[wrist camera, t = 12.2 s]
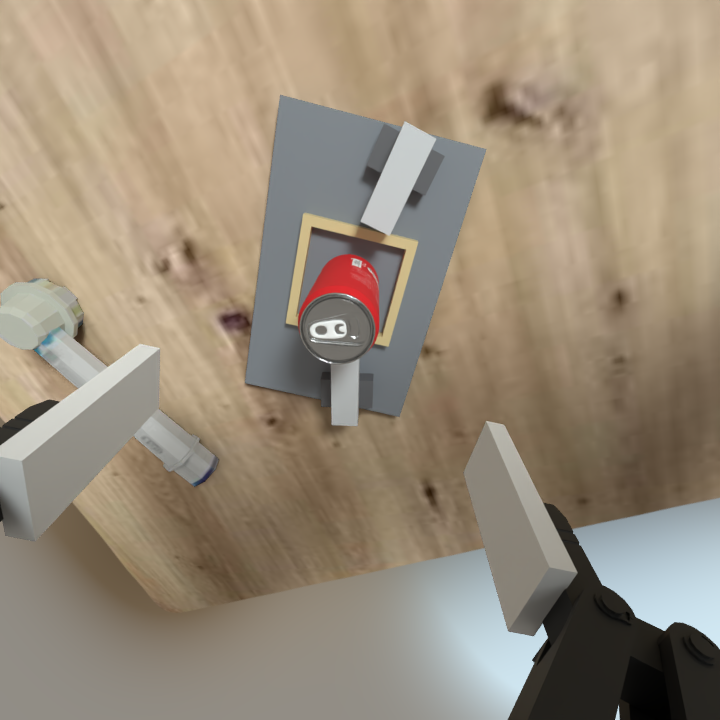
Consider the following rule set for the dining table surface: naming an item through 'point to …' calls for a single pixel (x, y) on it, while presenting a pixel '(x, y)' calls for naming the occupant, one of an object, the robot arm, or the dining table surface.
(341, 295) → the beverage can
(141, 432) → the white long shaft part
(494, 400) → the dining table surface
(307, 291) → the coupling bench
